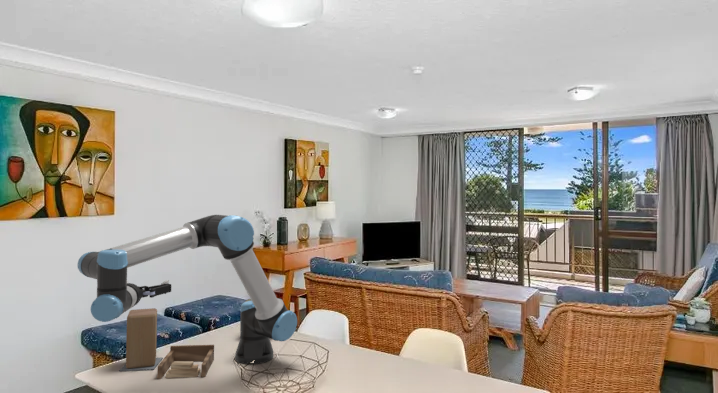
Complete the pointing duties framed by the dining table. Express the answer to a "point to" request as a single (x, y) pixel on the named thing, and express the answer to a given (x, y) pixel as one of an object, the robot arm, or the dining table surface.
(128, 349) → the wooden block
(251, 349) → the robot arm
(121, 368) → the felt pad
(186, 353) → the brown wooden tray
